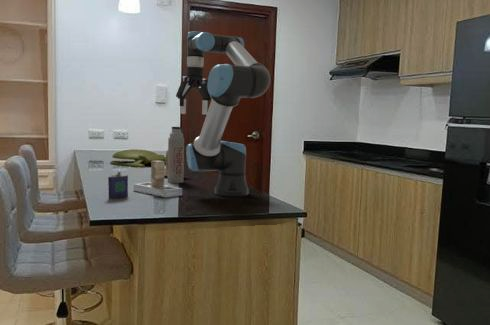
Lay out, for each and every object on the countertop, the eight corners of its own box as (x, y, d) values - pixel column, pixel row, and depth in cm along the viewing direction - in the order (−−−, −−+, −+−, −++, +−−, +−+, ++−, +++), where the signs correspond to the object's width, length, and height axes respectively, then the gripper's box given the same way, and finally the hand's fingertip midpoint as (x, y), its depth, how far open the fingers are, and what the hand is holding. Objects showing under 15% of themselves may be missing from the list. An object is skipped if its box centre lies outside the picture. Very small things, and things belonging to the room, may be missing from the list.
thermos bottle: (184, 182, 234) (185, 127, 231) (168, 182, 232) (169, 126, 229) (182, 180, 242) (183, 126, 239) (166, 180, 240) (167, 126, 237)
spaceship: (173, 165, 314) (173, 150, 313) (140, 168, 288) (140, 153, 287) (136, 160, 332) (136, 147, 331) (102, 163, 306) (102, 149, 305)
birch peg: (163, 193, 203) (164, 161, 202) (156, 194, 200) (157, 161, 199) (158, 191, 206) (158, 160, 204) (150, 192, 203) (151, 160, 201)
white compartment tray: (182, 195, 199) (182, 188, 199) (165, 197, 192) (166, 190, 192) (149, 188, 213) (149, 182, 213) (133, 190, 206) (133, 183, 206)
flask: (125, 195, 194) (125, 170, 192) (129, 196, 192) (130, 171, 191) (106, 198, 186) (107, 172, 185) (111, 199, 184) (111, 172, 183)
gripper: (208, 69, 222) (207, 114, 224) (168, 64, 203) (167, 113, 205) (220, 69, 217) (218, 114, 219) (180, 63, 198) (179, 113, 200)
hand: (194, 114), depth 212 cm, fingers open, 13 cm apart
